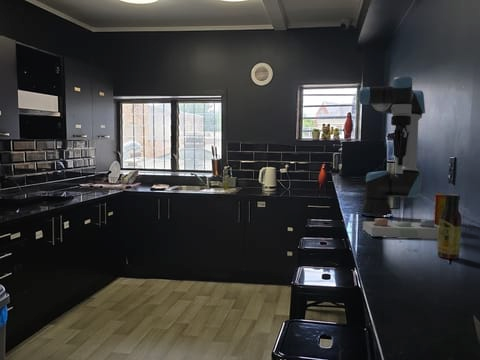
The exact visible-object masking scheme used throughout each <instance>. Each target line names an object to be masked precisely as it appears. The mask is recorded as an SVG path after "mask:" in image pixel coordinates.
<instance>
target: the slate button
mask: <svg viewBox="0 0 480 360" xmlns="http://www.w3.org/2000/svg"><path fill="white" fill-rule="evenodd" d="M420 223H421V227H430V228H434V226H435V220H433V219H428V218H426V219H425V218H424V219H423V218H422V219H420Z"/></svg>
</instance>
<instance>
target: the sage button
mask: <svg viewBox="0 0 480 360" xmlns="http://www.w3.org/2000/svg"><path fill="white" fill-rule="evenodd" d="M397 222H398V225H397V226H399V227H411V223H412V222H409V221H397Z"/></svg>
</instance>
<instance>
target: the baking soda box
mask: <svg viewBox="0 0 480 360" xmlns="http://www.w3.org/2000/svg"><path fill="white" fill-rule="evenodd" d="M446 194H447V193H443V192H441V193H440V192H439V193H438V192H435V193H434V201H433V203H434V204H433V219H432V220H435V225H438V226H439V221H440V217H441V215H442V213H443V211H444V208H445V201H446V199H445V195H446Z"/></svg>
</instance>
